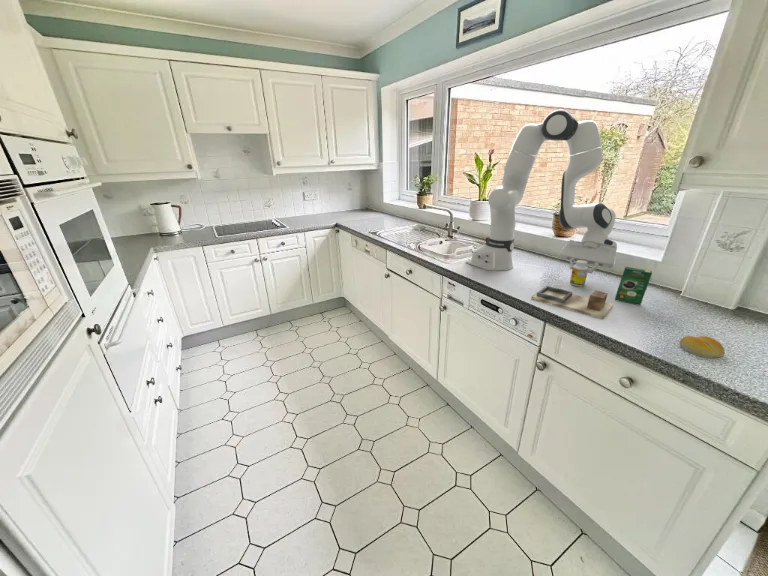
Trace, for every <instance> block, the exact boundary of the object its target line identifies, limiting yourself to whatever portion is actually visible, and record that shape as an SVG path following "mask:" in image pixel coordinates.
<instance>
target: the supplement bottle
mask: <svg viewBox="0 0 768 576" xmlns="http://www.w3.org/2000/svg"><path fill="white" fill-rule="evenodd" d="M588 270H589V266H588V264H587V261H584V260H577V261H575V263H574V266H573V269H571V275H570V279H569V283H570V285H572V286H574V287H583V286H585V285H586V281H587V275H588V274H589V273H588Z"/></svg>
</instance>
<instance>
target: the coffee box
mask: <svg viewBox="0 0 768 576" xmlns="http://www.w3.org/2000/svg"><path fill="white" fill-rule="evenodd" d="M652 274H653V272H652V270H649V269H648V270H647V269H641V268H638V267H630V266H625V267H624V270H623V273H622V275H621V276H622V277H620V278H621V279H620V281H619V285H618V288H617V291H616V294H615V298H614V301H617V302H620V303H626V304H631V305H636V306H641V305H642V302H643V300H644V296H645V293H646V291H647V288H648V285H649V282H650V279H651V277H652Z"/></svg>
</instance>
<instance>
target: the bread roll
mask: <svg viewBox="0 0 768 576" xmlns="http://www.w3.org/2000/svg"><path fill="white" fill-rule="evenodd" d="M679 345H680V348H681V349H682V348H683V349H682V350H684V351H685V350H686V351H685V352H687V351H688V352H687V353H689V352H690V353H689V354H692V353H693V354H692V355H694V354H696V355H695V356H697V355H698V356H697V357H701V358H707V359H711V358H712V359H713V358H715V359H719V358H722V357H724V356H725V348H724V346H723V344H722V343H720V342H719V341H718V340H717V339H715V338H712V337H710V336H705V335H701V336H691V335H688V336H684V337H682V338H680V340H679Z"/></svg>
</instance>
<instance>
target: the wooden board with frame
mask: <svg viewBox="0 0 768 576" xmlns="http://www.w3.org/2000/svg"><path fill="white" fill-rule="evenodd" d="M608 295H609V294H608V292H604V291H601V290H597V289H594V291H593V292H592V293H590V295H589V297H586V296H581V295H578V294H574V293H573V291H570V290H566V289H561V288H558V287H554V286H550V285H545V286H544V287H542V288H541V289H540V290H538V291H537V292H536V293H534V294H533V295H531V300H533V299H534V301H537V302H540V301H541V303H545V304H547V303H548V305H551V304H552V305H551V306H555V307H559V308H561V307H562V308H561V309H565V310H567V311H573V312H575V313H579V314H583V315H585V316H590V317H593V318H597V319H601V320H604V318H605V317H606V316H607V315H608V314H609V312H610V311H611V310H612V308H613V307H614V304H613V303H610V302H606V301H607V297H608Z"/></svg>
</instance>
